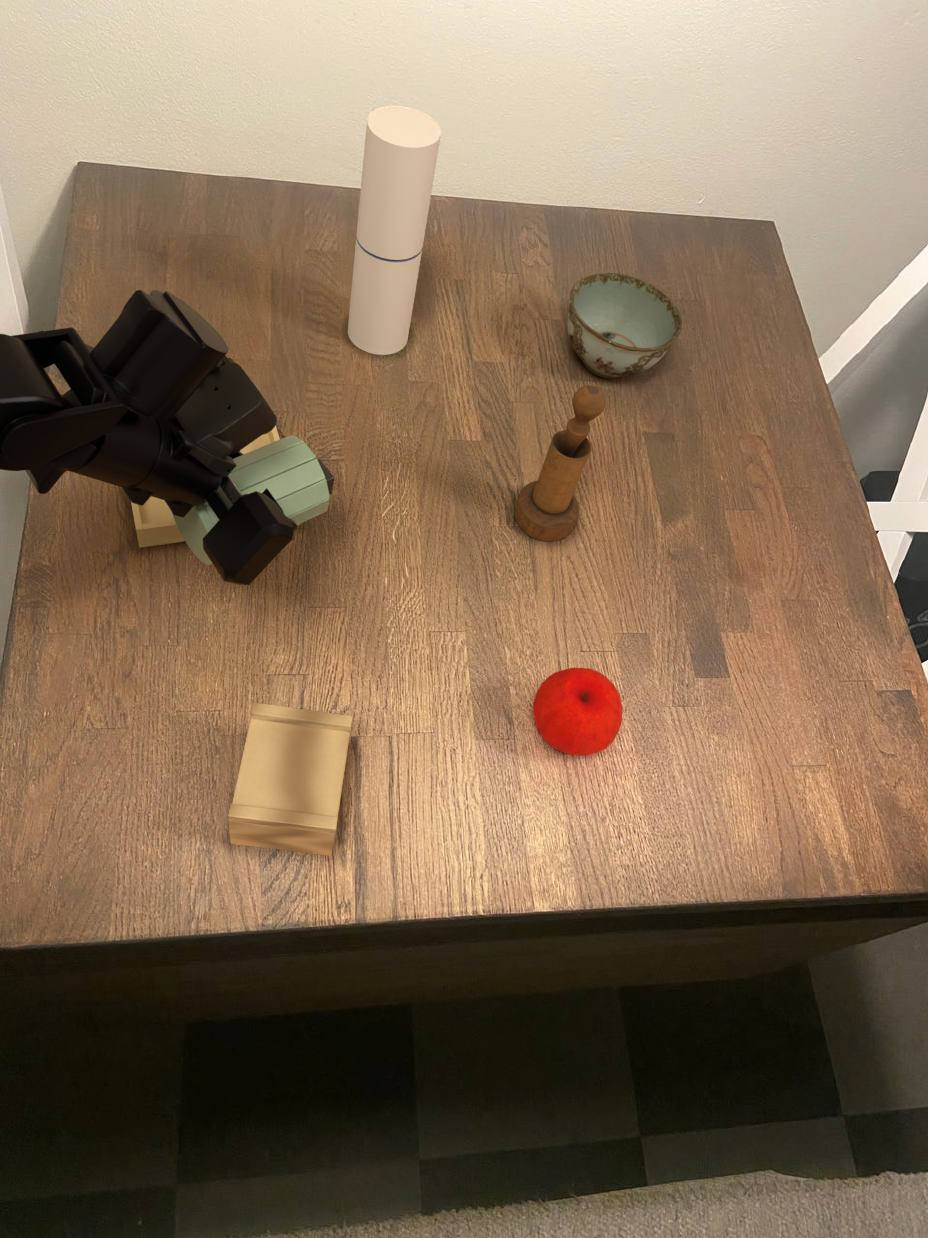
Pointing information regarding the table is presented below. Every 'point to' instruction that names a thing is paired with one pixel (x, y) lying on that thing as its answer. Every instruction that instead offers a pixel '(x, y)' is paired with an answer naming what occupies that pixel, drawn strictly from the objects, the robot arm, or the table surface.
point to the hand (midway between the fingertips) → (270, 497)
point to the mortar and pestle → (560, 474)
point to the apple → (578, 711)
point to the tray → (157, 517)
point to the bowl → (620, 324)
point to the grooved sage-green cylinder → (282, 473)
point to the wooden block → (290, 780)
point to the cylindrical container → (391, 225)
